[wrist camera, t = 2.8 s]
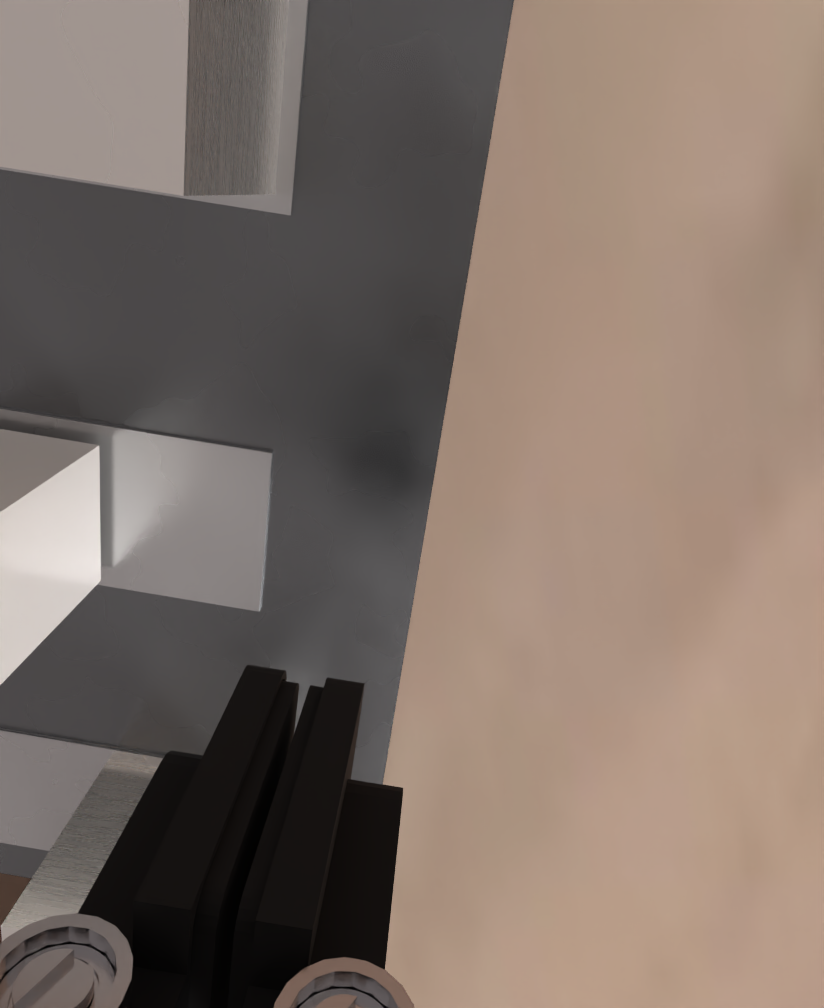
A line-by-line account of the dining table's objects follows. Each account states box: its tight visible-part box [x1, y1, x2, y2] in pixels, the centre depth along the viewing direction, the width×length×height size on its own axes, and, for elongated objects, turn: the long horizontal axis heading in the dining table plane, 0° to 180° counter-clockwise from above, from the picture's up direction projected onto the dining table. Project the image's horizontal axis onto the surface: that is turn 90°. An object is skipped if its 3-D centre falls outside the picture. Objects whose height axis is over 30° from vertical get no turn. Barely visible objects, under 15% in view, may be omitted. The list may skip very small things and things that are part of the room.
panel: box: [0, 0, 514, 942], centre depth 15 cm, size 22×16×7 cm
